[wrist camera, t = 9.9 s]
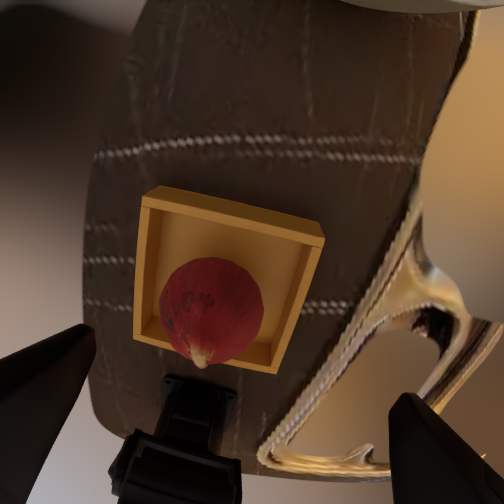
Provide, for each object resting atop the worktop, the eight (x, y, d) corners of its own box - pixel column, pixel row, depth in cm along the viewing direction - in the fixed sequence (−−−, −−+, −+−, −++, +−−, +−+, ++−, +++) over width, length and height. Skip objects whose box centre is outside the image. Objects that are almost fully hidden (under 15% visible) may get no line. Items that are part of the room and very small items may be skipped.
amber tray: (276, 347, 24) (276, 374, 21) (146, 315, 23) (132, 339, 20) (318, 221, 20) (326, 238, 17) (160, 184, 19) (141, 195, 16)
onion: (165, 288, 22) (120, 365, 14) (203, 220, 19) (161, 281, 12) (237, 328, 22) (221, 415, 15) (282, 267, 20) (285, 349, 13)
